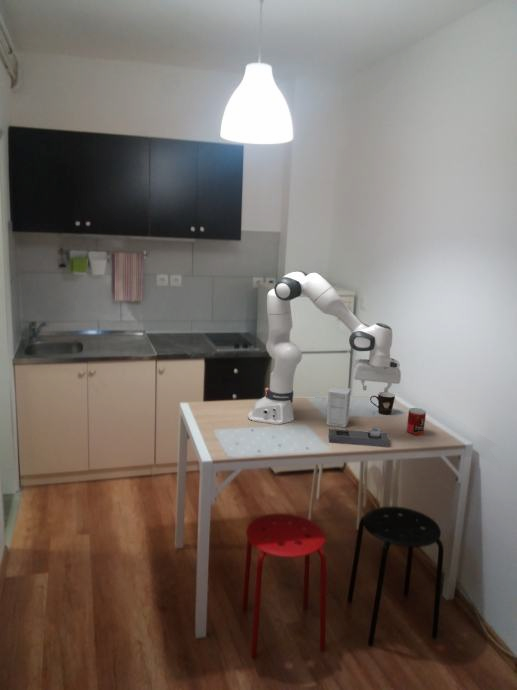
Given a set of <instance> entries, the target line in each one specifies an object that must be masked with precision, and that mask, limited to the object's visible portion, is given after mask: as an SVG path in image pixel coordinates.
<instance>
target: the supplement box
mask: <svg viewBox="0 0 517 690" xmlns="http://www.w3.org/2000/svg"><path fill="white" fill-rule="evenodd" d="M351 391H352V388H347V387H339V386H331V388H330V389H329V390H328V394H327V395H328V398H327V410H326V425H328V426H331V427H332V426H334V427H340V428H346V427H347V425H348V423H349V417H350V416H349V414H350V406H351V405H350V403H351V402H350V401H351Z"/></svg>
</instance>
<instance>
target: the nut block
mask: <svg viewBox="0 0 517 690" xmlns="http://www.w3.org/2000/svg"><path fill="white" fill-rule="evenodd" d="M368 432H369V438H379V437H380V433H381V430H380V428H379V427H373V426H372V427H369V431H368Z"/></svg>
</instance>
